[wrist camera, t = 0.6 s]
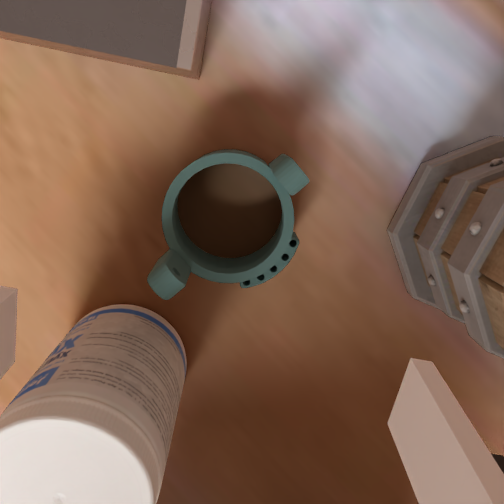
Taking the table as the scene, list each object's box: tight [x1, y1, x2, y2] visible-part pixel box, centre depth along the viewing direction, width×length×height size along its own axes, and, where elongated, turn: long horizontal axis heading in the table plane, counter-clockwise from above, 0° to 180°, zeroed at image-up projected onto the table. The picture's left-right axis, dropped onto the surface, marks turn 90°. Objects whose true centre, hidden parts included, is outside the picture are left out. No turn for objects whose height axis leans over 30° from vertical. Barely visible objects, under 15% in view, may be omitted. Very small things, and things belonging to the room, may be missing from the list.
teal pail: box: [147, 149, 309, 300], centre depth 31 cm, size 9×9×9 cm
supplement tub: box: [0, 304, 187, 504], centre depth 31 cm, size 10×10×15 cm
